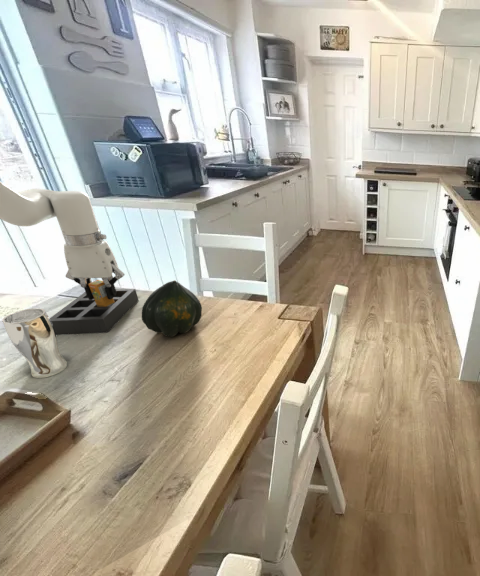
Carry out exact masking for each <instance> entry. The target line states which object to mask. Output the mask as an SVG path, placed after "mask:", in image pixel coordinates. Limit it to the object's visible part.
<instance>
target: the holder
mask: <svg viewBox="0 0 480 576" xmlns="http://www.w3.org/2000/svg"><path fill="white" fill-rule="evenodd" d="M115 289H116V296H115V297H113V300H114V302H115V303H114V304H113V305H112V306H105V307H97V304H96V302H95V300H94V299H92V300H89V298H88V296H87V295H86V292H85V291H84V292H83V293H82V294H80V295H79V296H78V297H76V298H75V299H73V300H71V302H70V303H68V304H66V305H65V306H64V307H63V308H62V309H60V310H59V311H57V312H56V313H54V314H53V315H52V316H51V317H49V318H50V320H51V322H52V324H53V326H54V329H55V332H56V336H65V335H82V334H83V335H85V334H87V335H88V334H102V333H103V334H104V333H109V332H110V331H111V330H112V329H113V328H114V327H115V326H116V325H117V324H118V322H119V321H121V319H122V318H123V317H125V315H127V313H128V312H130V310H131V309H132V308H133V307H134V306H135V305H136V304H137V303H138V302H140V301H139V297H138V293H137V290H136V288H115Z"/></svg>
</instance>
